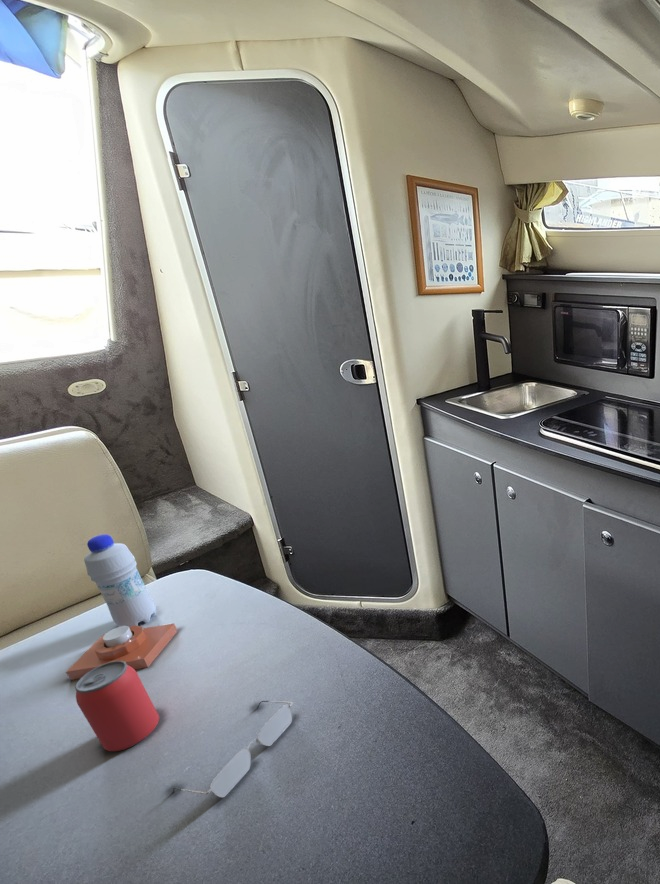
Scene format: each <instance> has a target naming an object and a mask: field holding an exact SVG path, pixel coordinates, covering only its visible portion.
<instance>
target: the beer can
mask: <svg viewBox="0 0 660 884" xmlns="http://www.w3.org/2000/svg"><path fill="white" fill-rule="evenodd" d="M74 690H75V701H76V703H77V706H78V708H79V709H80V711H81V713H82V714H83V716H84V718H85V720H86V721H87V723H88V725H90V728H91V729H92V731H93V733H94V734H95V736H96V738H97V739H98V741H99V743H100V744H101V746H102V748H103V749H104V750H105V751H108V752H119V751H123V750H126V749H129V748H132V747H134V746H135V745H137V744H139V743H141V742H143V740H145V739H146V738H147V737H149V736H150V735H151V734H152V732H153V731H154V730H155V729H156V727H157V726H158V724H159V722H160V715H159V713H158V711H157V709H156V707H155V705H154V703H153V702H152V699H151V697H150V696H149V694H148V692H147V690H146V688H145V686H144V684H143V682H142V680H141V678H140V677H139V674H138V672H137V671H136V669H133V668H132V667H130V666H128V665H127V664H126V662H124V661H112V662H108V663H105V664H103V665H100V666H98V667H96V668H94V669H92V670H91V671H89V672H88V673H86V674H85V675H84V676H83V677H81V678H80V679H78V681H77V682H76V683H75V686H74Z"/></svg>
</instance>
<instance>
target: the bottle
mask: <svg viewBox="0 0 660 884" xmlns="http://www.w3.org/2000/svg"><path fill="white" fill-rule="evenodd" d="M86 545H87V548H88V550H89V551H90V552H88V553H87V554H86V555H85V556H84V557H83V562H84V565H85V568H86V572H87V576H88V577H90V580H91V581H92V582H94V583H95V585H96V586H97V588H98V590H99V592H100V594H101V596H102V598H103V600H104V602H105V604H106V606H107V608H108V611H109V614H110V616H111V619H112V620H113V623H114V624H115V625H116V626H117V627H120V626H135V625H137V626H139V624H140V623H141V622H143V623H144V624H147V623H149V622H150V621H151V618H153V617H155V616H156V614H157V606H156V603H155V601H154V599H153V597H152V596H151V594H150V592H149V590H148V589H147V588H146V585H145V583H144V580H143V579H142V576H141V574H140V573H139V570H138V568H137V564H138V563H137V561H136V558H135V556H134V554H133V553H132V552H131V550H130V549H129V548H128V546H127V545H126V544H124V543H119V542H116V543H115V542H114V539H113V538H112V536H111V535H110V534H99V535H96V536H93V537H91V538H90V539H89V540H88V541H87V544H86Z"/></svg>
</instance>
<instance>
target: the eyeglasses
mask: <svg viewBox="0 0 660 884" xmlns="http://www.w3.org/2000/svg"><path fill="white" fill-rule="evenodd" d="M262 703H279V704H284V705H282V706H281V707H280V708H279V709H278V710H277V711H276V712H275V713H274V714H273V715H272V716H271V717H270V718H269V719H268V720H267V721H266V722H265V723H264V725H263V726H262V727H261V728H260V730H259V731H258V733H257V735H256V736H257V737H256V738H253V740H251V741H250V742H249V744H248V745H247V747H244V748H242V749H240V750H239V751H238V752H237V753H236V754H235V755H234V756H233V757H232V758H231V759H230V760H229V761H228V762H227V763H226V764H225V765H224V766H223V767H222V768H221V770H220V771H219V772H218V773H217V775H216V776H215V777H214V778H213V779H212V780H211V782H210V784H209V790H207V791H198V790H192V789H184V788H183V789H182V788H179V787H173V788H172V792H173V793H175V792H176V790H177V791H183V792H190V793H194V794H201V795H209V794H210V793H213V795H215V796H217V797H219V798H225V797H226V796H227V795H228V794H229V793H230V792H231V791H232V789H233V788H235V786H236V785H237V784H238V783H239V782H240V781H241V780H242V779H243V777H244V776H245V775H246V774H247V773H248V772H249V771H250V769H251V765H252V758H251V757H252V756H251V751H250V749H249V748H250V746H251V745H252V743H254V742H255V743H256V744H258V745H260V746H261V745H263V746H266V747H270V746H272V745H273V744H274V743H275V742H276V741H277V739H279V737H281V736H282V734H283V733H285V731H286V730H287V728H289V726H290V725H291V724H292V722H293V712H292V708H291V707H292V705H293V701H283V700H282V701H281V700H280V701H279V700H261V701H260V702H259V703H258V705H257V707H256V709H259V708H260V705H261V704H262Z"/></svg>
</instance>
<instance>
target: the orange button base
mask: <svg viewBox="0 0 660 884" xmlns="http://www.w3.org/2000/svg"><path fill="white" fill-rule="evenodd" d="M129 628H130V630H131V632H132V634H133V636H132V637H131V638H130V639H129V640H127V641H126V642H124V643H122V644H120V645H117V646H115V647H107V646H106V644H105V642H104V640H103V636H104V635H105V634H106V633H104V634H102V635H101V636H100V637H99V638H98V639H97V640H96V641H95V642H94V643H93V644H92V645H91V646H90V647H89V648H88V649H87V650H86V651H85V652H84V653H83V654H82V655H81V656H80V657H79V658H78V659H77V660H76V661H75V662H74V663H73V664H71V666H70V667H68V669H66V671H65V673H66V675H67V677H68V678H69V680H70V681H74V680H80V678H81V677H83V676H84V675H85V674H86V673H88V672H89V671H91V670H92V669H94V668H96V667H98V666H100V665H103V664H105V663H108V662H112V661H124V662H126V664H127V665H128V666H130V667H132V668H133V669H134V670H139V669H140V670H141V669H145V668H149V667H150V666H151V664H152V663H153V662H154V661H155V660H156V658H157V657H158V656H159V655H160V653H161V652H162V651H163V650H164V648H166V647H167V645H168V644H169V643H170V641H171V640H172V639H173V637H174V636H175V635H176V634H177V633H178V628H177V626H176V624H175V623H167V624H162V625H155V626H154V625H153V626H148V627H143V626H141V625H138V626H137V625H135V626H129Z"/></svg>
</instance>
